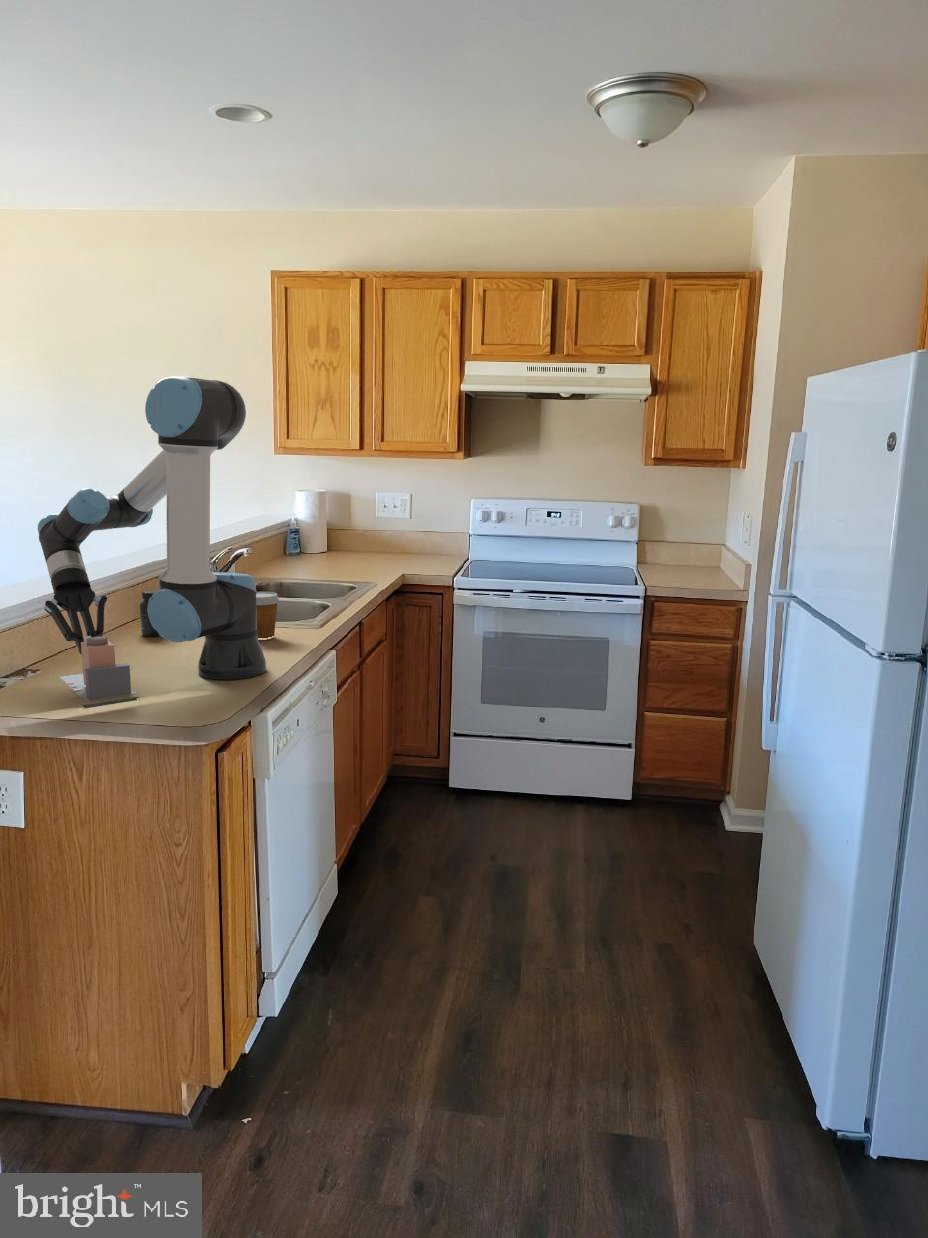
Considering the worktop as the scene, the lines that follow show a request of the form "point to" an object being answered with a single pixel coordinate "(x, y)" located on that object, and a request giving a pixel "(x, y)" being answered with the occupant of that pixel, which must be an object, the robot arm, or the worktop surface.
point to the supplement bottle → (146, 615)
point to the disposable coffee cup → (266, 613)
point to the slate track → (102, 684)
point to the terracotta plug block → (97, 653)
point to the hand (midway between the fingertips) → (93, 664)
